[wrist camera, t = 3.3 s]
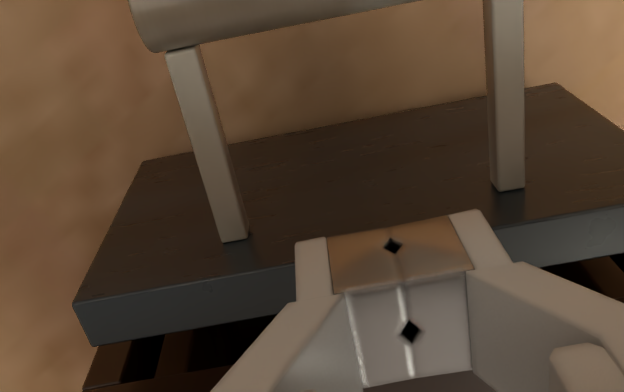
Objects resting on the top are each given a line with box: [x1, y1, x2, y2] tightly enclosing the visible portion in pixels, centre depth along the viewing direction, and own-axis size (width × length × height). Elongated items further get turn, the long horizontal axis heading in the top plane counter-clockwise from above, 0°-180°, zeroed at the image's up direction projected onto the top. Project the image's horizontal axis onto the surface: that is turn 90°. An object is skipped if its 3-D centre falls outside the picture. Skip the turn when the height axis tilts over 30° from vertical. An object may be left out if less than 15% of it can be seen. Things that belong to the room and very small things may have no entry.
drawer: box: [72, 0, 624, 378], centre depth 16 cm, size 19×13×7 cm, turn 11°
